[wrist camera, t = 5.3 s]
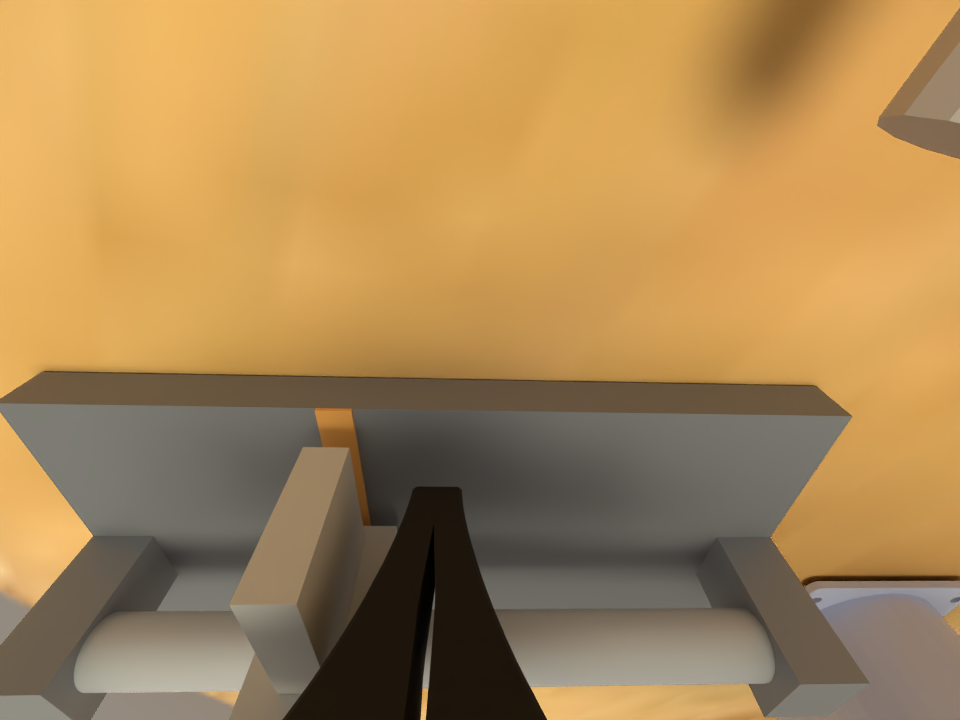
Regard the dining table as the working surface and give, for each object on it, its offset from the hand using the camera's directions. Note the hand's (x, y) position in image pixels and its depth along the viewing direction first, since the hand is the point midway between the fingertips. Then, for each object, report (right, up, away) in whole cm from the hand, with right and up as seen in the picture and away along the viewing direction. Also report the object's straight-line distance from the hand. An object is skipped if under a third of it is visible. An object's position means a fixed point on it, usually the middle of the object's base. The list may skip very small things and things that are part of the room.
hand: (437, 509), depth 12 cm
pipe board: (0, -2, +5) cm, 5 cm away
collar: (-3, -2, +2) cm, 4 cm away
